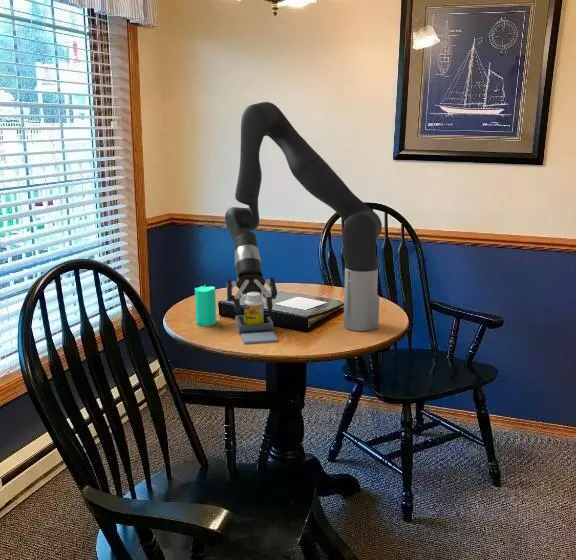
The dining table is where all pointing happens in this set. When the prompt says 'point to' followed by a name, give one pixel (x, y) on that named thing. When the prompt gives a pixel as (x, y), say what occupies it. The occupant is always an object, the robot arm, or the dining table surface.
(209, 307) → the candle
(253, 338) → the slate mat
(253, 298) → the supplement bottle
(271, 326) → the iron collar
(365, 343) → the dining table surface
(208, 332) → the dining table surface
